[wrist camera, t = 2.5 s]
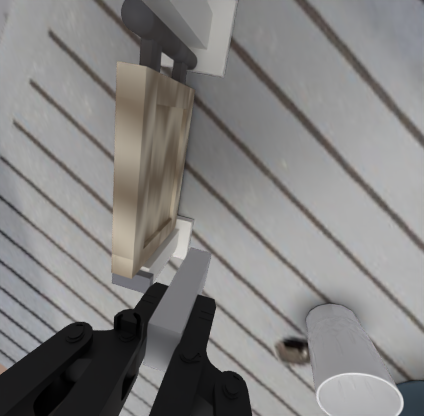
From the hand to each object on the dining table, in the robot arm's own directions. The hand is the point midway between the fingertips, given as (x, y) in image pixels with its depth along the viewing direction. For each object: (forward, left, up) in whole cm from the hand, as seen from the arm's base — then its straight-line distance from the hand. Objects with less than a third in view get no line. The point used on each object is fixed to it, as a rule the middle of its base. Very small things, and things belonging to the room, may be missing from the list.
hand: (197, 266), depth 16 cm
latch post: (+7, -7, -14) cm, 17 cm away
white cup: (+14, +18, -15) cm, 27 cm away
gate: (-5, -7, -13) cm, 15 cm away
